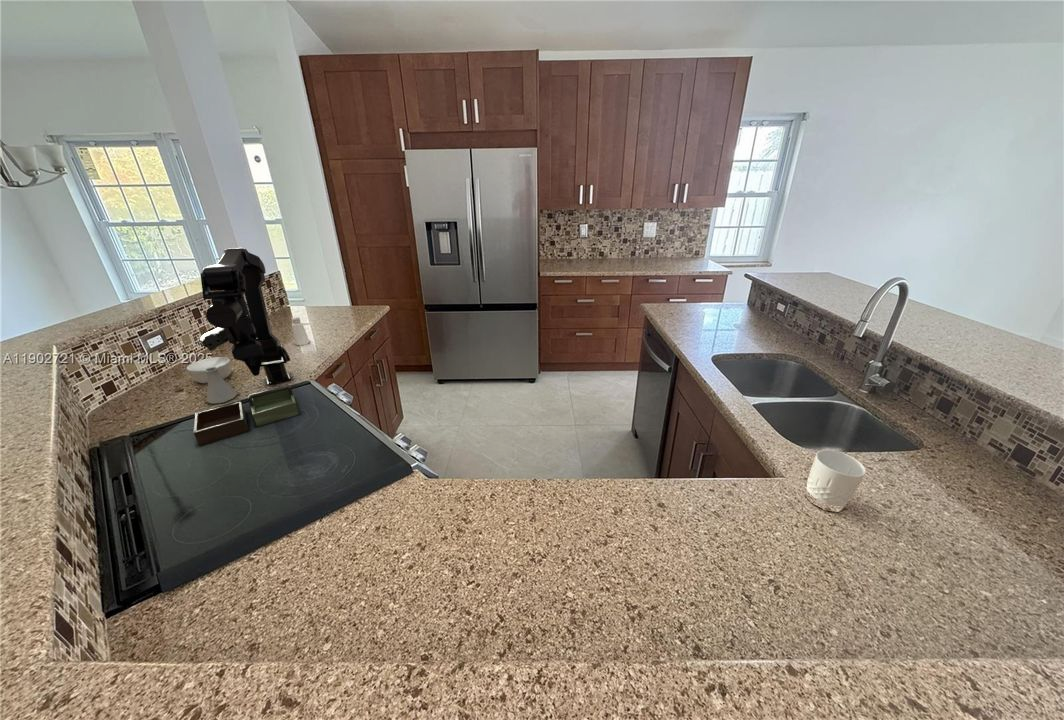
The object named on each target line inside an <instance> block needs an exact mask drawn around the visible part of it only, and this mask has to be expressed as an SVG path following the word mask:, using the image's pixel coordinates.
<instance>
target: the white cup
mask: <svg viewBox="0 0 1064 720" xmlns="http://www.w3.org/2000/svg"><path fill="white" fill-rule="evenodd" d="M866 474H867V469H866V467H865V465H864V464H863V463H861V461H859V460H858V459H856V458H854V457H853V456H850V455H849V454H846V453H844V452H841V451H838V450H832V449H819V450H818V451H816V453H815V456H814V459H813V461H812V465H811V468H810V471H809V474H808V478H807V480H806V485H807V487H806V486H805V488H806V489H807V491H808V492H809V493H810V495H812V496H813V497H814V498H816V499H817V500H819V501H821V502H823V503H825V504H829V505H833V506H844V505H846V504H847V505H848V503H849V502H850V501H851V500H852V498H853V496H854V494H855V493H856V491H857V490H858V487H859V486H860V484H861V482H862V481H863V479H864V477H865V476H866ZM847 505H846V506H847Z"/></svg>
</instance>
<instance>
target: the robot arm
mask: <svg viewBox="0 0 1064 720" xmlns="http://www.w3.org/2000/svg"><path fill="white" fill-rule="evenodd" d="M266 273H267V271H266V267H265V264H264V262H263V260H262V259H261V258H260V257H259V256H258V255H256V254H253V253H251V252H250V251H248V250H247V249H246V248H243V247H235V248H234V247H232V248H231V247H230V248H229V247H228V248H226V249H224V250H223V255H222V256H221V258H220V259H219V261H217V263H216V264H212V265H211V264H210V265H207V266H205V267H203V269H202V272H201V273H200V282H201V290H202V298H203V300H204V301H205V300H210V302H211V305H210V306H209V308H208V309H207V310H206V312H205V313H206V314H205V318H206V320H207V322H208V323H209V324H210V325H212V326H213V327H215V328H214V329H212V330H210V331H208V332H206V333H204V334H202V335H201V336H200V337H199V342H201V343H202V344H203V347H204V348H207V349H208V351H211V352H212V351H214V350H216V349H217V348H218V347H220V346H222V345H224V344H225V343H228V344H232V346H231V347H230V349H231V355H232V357H233V360H236V361H240V362H243V363H244V364H245V365H246V367H247V368H248V369H249V371H250V372H251V374H252V375H253V376H254V377H257V376H260V372H261V368H262V367H263V370H264V372H265V380H266V384H267V386H271V385H275V384H281V383H283V382H288V381H291V376H290V374H289V372H288V371H287V368H286V365H285V364H287V363H288V362H290V361H291V357H290V354H289V353H288V351H287V349H286V348H285V347H284V346H283V345H282V343H281V340H279V338H278V337H277V336H276V335H274V334H273V331H272V327H271V323H270V319H269V316H268V310H267V306H266V301H265V299H264V293H263V289H262V287H263V285H264V283H265V281H266V276H265V274H266Z"/></svg>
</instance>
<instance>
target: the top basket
mask: <svg viewBox="0 0 1064 720" xmlns="http://www.w3.org/2000/svg"><path fill="white" fill-rule="evenodd" d="M247 400H248V404H249V405H250V409H251V413H252V417H253V420H254V423H255V425H256V427H257V428H258V427H261V426H264V425H268V424H272V423H274V422H278V421H282V420H286V419H288V418H292V417H295V416H298V415H300V411H299V409H298V405H297V402H296V400H295V397H294V392H293V390H292V386H290V385H289V384H286V385H283V386H279V387H275V388H270V389H268V390H263V391H260V392H255V393H251V394H248V396H247Z"/></svg>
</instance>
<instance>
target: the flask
mask: <svg viewBox="0 0 1064 720" xmlns="http://www.w3.org/2000/svg"><path fill="white" fill-rule="evenodd" d="M218 369H219V368H218V367H210V368H207V369H205V370H204V372H205V373H206V374H207V377H208V383H207V392H206V400H205V402H206V403H209V404H212V405H213V404H223V403H225V402H227V401H230V400H232V399H234V398H235V397H236V396H237V395H238V394H239V393H238V392H237V391H236V390H235V389H234V388H233V387H232V386H231V385H230V384H228V383H227V381H226V380H225V379H223V378H222V377H221V375H220V374H219V372H218Z"/></svg>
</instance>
